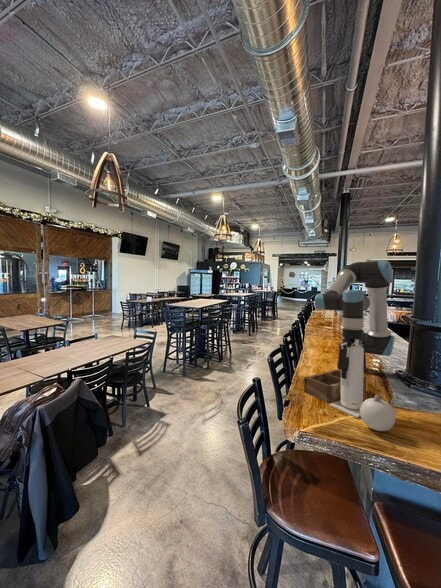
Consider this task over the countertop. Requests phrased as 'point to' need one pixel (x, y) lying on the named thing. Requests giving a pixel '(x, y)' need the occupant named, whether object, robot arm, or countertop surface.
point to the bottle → (354, 377)
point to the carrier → (326, 385)
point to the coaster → (346, 409)
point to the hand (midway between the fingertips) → (351, 384)
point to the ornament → (377, 414)
